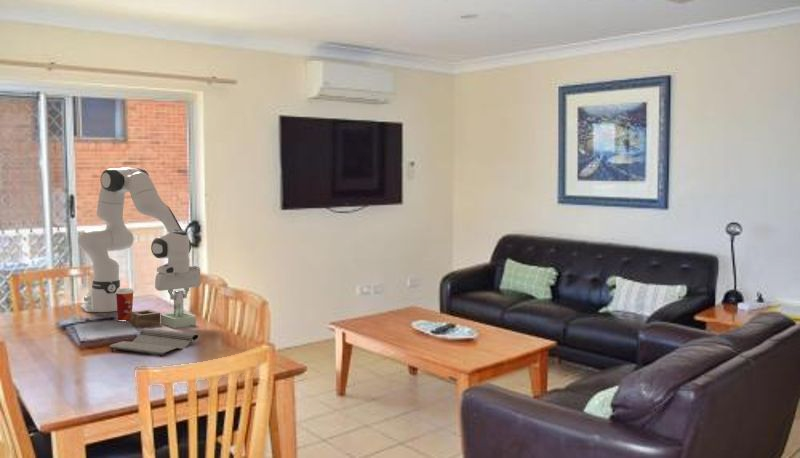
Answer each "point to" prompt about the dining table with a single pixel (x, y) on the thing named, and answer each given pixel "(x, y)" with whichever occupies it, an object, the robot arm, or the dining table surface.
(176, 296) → the steel pin
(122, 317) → the paper cup
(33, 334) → the dining table surface
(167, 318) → the tray
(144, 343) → the mat
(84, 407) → the dining table surface
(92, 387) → the dining table surface
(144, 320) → the socket block
